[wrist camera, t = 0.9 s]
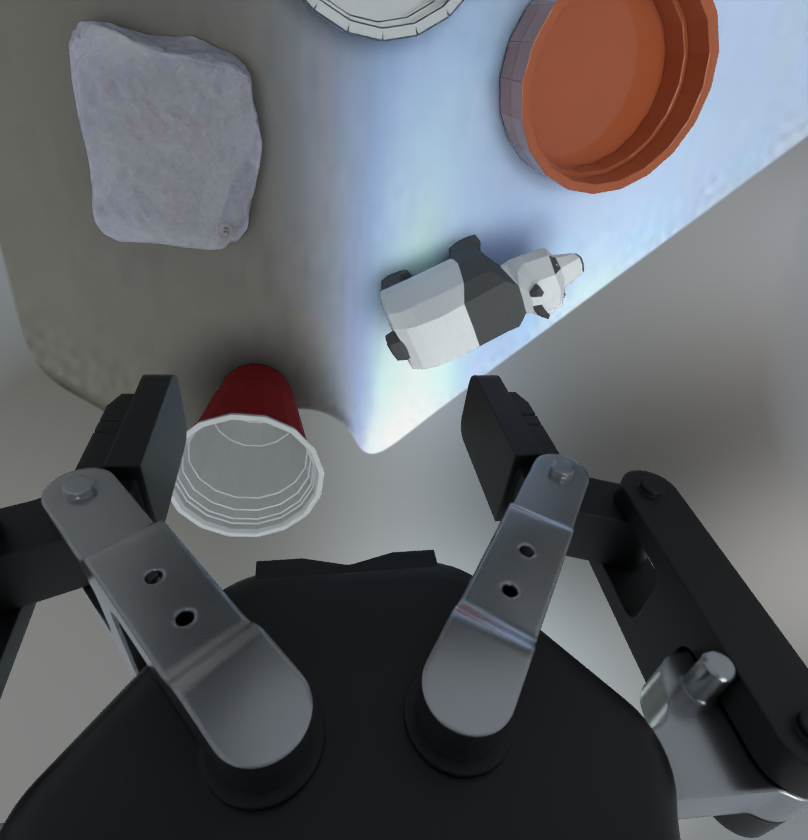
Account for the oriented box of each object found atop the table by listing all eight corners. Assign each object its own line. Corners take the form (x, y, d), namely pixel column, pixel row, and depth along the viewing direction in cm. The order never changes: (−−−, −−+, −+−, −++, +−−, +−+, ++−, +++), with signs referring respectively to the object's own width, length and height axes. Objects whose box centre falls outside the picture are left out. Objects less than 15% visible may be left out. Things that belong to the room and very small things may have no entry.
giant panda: (391, 337, 44) (410, 401, 36) (363, 281, 40) (378, 338, 33) (552, 263, 42) (608, 314, 35) (538, 199, 39) (595, 240, 31)
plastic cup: (313, 328, 42) (317, 414, 33) (324, 431, 49) (330, 528, 39) (175, 338, 41) (137, 430, 31) (205, 442, 47) (182, 545, 38)
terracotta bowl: (498, -27, 30) (524, -34, 27) (693, -57, 31) (744, -68, 27) (499, 190, 38) (519, 207, 34) (656, 163, 39) (692, 176, 35)
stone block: (254, 46, 32) (66, 9, 28) (266, 55, 29) (54, 15, 25) (253, 235, 39) (103, 227, 35) (262, 261, 36) (97, 255, 32)
